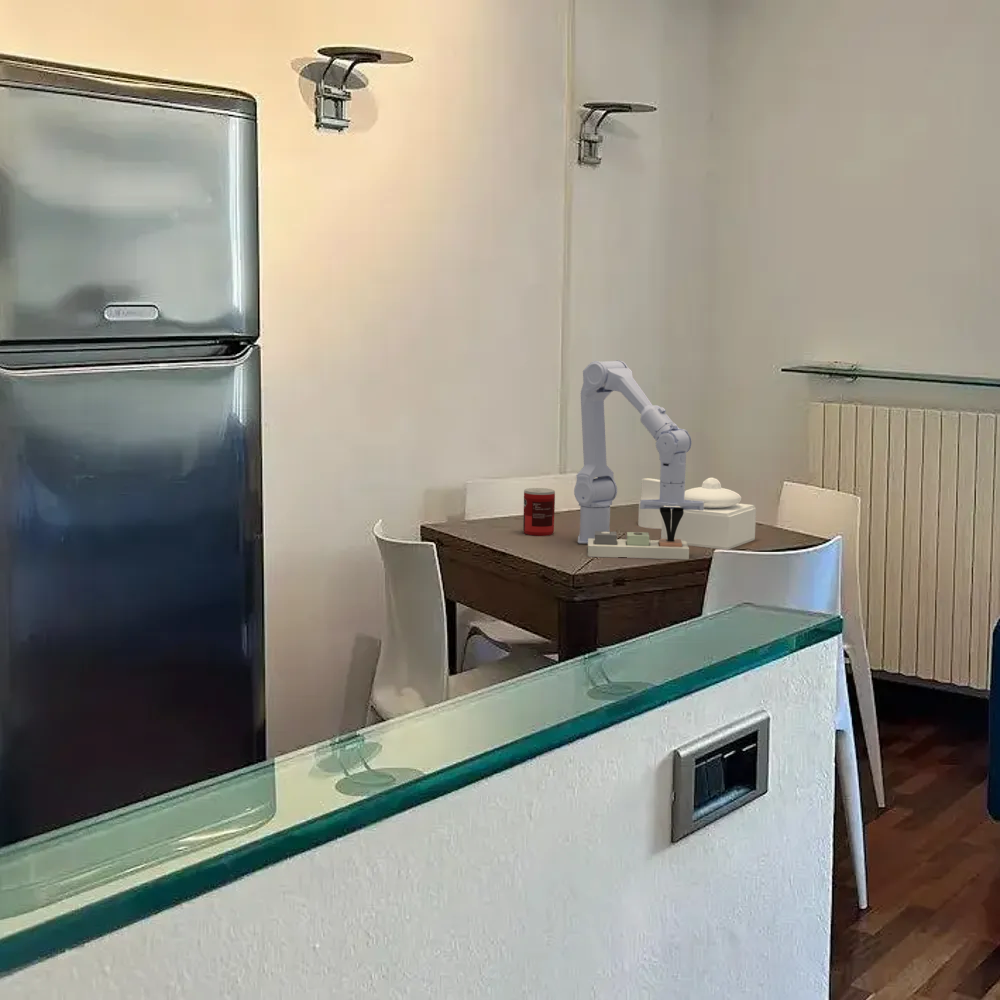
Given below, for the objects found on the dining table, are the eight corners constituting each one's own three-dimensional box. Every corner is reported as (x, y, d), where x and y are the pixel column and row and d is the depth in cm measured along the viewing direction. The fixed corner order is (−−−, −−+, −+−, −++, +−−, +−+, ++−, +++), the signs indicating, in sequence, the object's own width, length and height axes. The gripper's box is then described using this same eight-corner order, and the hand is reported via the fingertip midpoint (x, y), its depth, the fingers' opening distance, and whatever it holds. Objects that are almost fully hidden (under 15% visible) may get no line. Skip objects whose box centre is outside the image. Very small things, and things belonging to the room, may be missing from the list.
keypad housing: (587, 548, 323) (588, 538, 323) (685, 551, 322) (686, 541, 321) (587, 556, 313) (588, 545, 313) (688, 559, 312) (689, 548, 312)
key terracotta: (658, 552, 320) (659, 537, 319) (680, 552, 319) (680, 538, 319) (659, 556, 315) (660, 541, 314) (681, 556, 314) (681, 542, 314)
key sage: (626, 545, 320) (627, 531, 320) (648, 546, 320) (648, 531, 319) (627, 549, 315) (627, 534, 315) (648, 549, 315) (649, 535, 314)
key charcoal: (594, 544, 321) (594, 530, 320) (615, 545, 320) (616, 530, 320) (594, 548, 316) (594, 533, 315) (616, 549, 315) (616, 534, 315)
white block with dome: (727, 550, 325) (730, 484, 323) (658, 542, 335) (661, 478, 332) (755, 540, 340) (757, 477, 338) (688, 533, 349) (690, 471, 347)
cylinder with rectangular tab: (631, 524, 360) (632, 479, 358) (656, 521, 365) (657, 477, 363) (654, 529, 352) (656, 483, 351) (679, 526, 358) (681, 481, 356)
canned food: (535, 529, 349) (536, 487, 348) (560, 533, 344) (561, 490, 343) (516, 533, 344) (517, 489, 342) (541, 537, 338) (542, 493, 337)
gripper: (641, 483, 311) (639, 542, 313) (705, 485, 310) (703, 544, 312) (640, 479, 318) (638, 537, 320) (703, 481, 317) (701, 538, 319)
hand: (670, 540), depth 317 cm, fingers closed, pressing on key terracotta
